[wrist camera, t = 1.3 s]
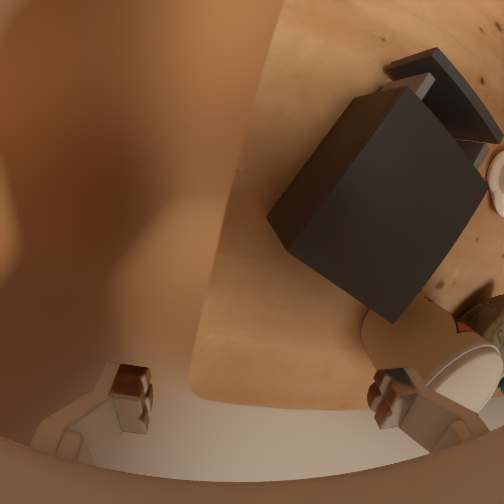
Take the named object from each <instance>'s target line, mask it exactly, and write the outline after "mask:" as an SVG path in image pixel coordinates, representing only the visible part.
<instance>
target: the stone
mask: <svg viewBox="0 0 504 504" xmlns="http://www.w3.org/2000/svg"><path fill="white" fill-rule="evenodd" d="M459 320H460V321H461V322H463V323H464V324H465V325H467V326H468V327H469V328H471V329H472V330H474V331H475V332H476V333H477V334H479V335H480V336H481V337H482V338H484V339H485V340H486V341H488V342H491V343H492V344H494V345H495V346H496V347H497V348H498V349H499V351H501V350H502V348H503V347H504V294H503V295H499V296H495V297H493V298H490V299H488V300H485V301H482V302H480V303H479V304H477V305H476V306H474V307H472V308H471V309H470V310H468V311H467V312H466V313H464V314H463V315H462V316H461V317H460V318H459Z"/></svg>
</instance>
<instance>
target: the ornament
mask: <svg viewBox="0 0 504 504" xmlns="http://www.w3.org/2000/svg"><path fill="white" fill-rule="evenodd" d="M501 391H502V393H503V394H504V377H503V378H502V381H501Z"/></svg>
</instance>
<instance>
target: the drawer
mask: <svg viewBox="0 0 504 504" xmlns="http://www.w3.org/2000/svg"><path fill="white" fill-rule="evenodd" d="M386 70H387V71H388V72H389V73H390V74H391V75H392V76H393V77H394V78H395V79H396V81H392V82H388V83H386V84H385V85H384V87H383V88H382V89H381V91H385V90H389V89H393V88H398V87H403V86H408V87H409V88H410V89H411V90H412V91H413V92H414V93H415V94H416V95H417V96H418V97H419V98H420V99H421V101H422V102H423V103H424V104H425V105H426V106H427V107H428V108H429V109H430V111H431V112H432V113H433V114H434V115H435V116H436V117H437V119H438V120H439V121H440V122H441V123H442V125H443V126H444V127H445V128H446V129H447V131H448V132H449V133H450V134H451V136H452V137H453V138H454V139H458V140H455V141H456V142H457V143H458V145H459V146H460V147H461V148H462V150H463V151H464V152H465V154H466V155H467V156H468V158H469V159H470V161H471V162H472V163H473V165H474V166H475V168H476V169H477V170H478V168H479V167H480V165H481V163H482V161H483V159H484V158H485V156H486V154H487V152H488V150H489V148H488V147H487V145H486V144H485V143H480V142H486V143H494V144H500V142H501V140H502V138H503V136H504V135H503V133H502V132H501V130H500V128H499V127H498V125H497V124H496V122H495V121H494V119H493V118H492V116H491V115H490V113H489V112H488V110H487V109H486V107H485V106H484V105H483V103H482V102H481V100H480V99H479V98H478V96H477V95H476V93H475V92H474V91H473V89H472V88H471V87H470V86H469V84H468V83H467V82H466V80H465V79H464V78H463V77H462V75H461V74H460V73H459V72H458V70H457V69H456V68H455V67H454V66H453V64H452V63H451V62H450V61H449V60H448V59H447V57H446V56H445V55H444V54H443V53H442V52H441V51H440V50H439V48H438V47H436V48H432V49H429V50H426V51H423V52H420V53H417V54H414V55H411V56H408V57H405V58H403V59H400V60H397V61H394V62H391V64H390V65H389V66H388V68H387V69H386ZM461 140H468V141H461ZM471 141H478V142H471Z"/></svg>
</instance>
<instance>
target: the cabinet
mask: <svg viewBox="0 0 504 504" xmlns="http://www.w3.org/2000/svg"><path fill="white" fill-rule="evenodd" d="M488 188H489V187H488V185H487V184H486V182H485V181H484V179H483V178H482V176H481V175H480V173H479V172H478V170H477V169H476V168H475V166H474V165H473V163H472V162H471V161H470V159H469V158H468V156H467V155H466V154H465V152H464V151H463V150H462V148H461V147H460V146H459V145H458V143H457V142H456V141H455V139H454V138H453V137H452V136H451V134H450V133H449V132H448V131H447V129H446V128H445V127H444V126H443V125H442V123H441V122H440V121H439V120H438V119H437V117H436V116H435V115H434V114H433V113H432V112H431V111H430V109H429V108H428V107H427V106H426V105H425V104H424V103H423V102H422V101H421V99H420V98H419V97H418V96H417V95H416V94H415V93H414V92H413V91H412V90H411V89H410V88H409V87H408V86H403V87H398V88H393V89H389V90H385V91H380V92H376V93H372V94H368V95H364V96H360V97H356V98H354V99H353V101H352V102H351V103H350V105H349V106H348V107H347V109H346V110H345V111H344V113H343V114H342V115H341V117H340V118H339V119H338V121H337V122H336V123H335V125H334V126H333V127H332V129H331V130H330V131H329V133H328V134H327V135H326V137H325V138H324V139H323V141H322V142H321V143H320V145H319V146H318V148H317V149H316V150H315V152H314V153H313V154H312V156H311V157H310V158H309V160H308V161H307V162H306V164H305V165H304V166H303V168H302V169H301V171H300V172H299V173H298V175H297V176H296V177H295V179H294V180H293V181H292V183H291V184H290V185H289V187H288V188H287V189H286V191H285V192H284V194H283V195H282V196H281V198H280V199H279V200H278V202H277V203H276V204H275V206H274V207H273V209H272V210H271V211H270V213H269V214H268V215H267V217H266V218H267V220H268V221H269V223H270V225H271V226H272V228H273V230H274V231H275V233H276V234H277V236H278V238H279V239H280V241H281V243H282V244H283V246H284V248H285V249H286V251H287V252H288V253H290V254H291V255H293V256H294V257H296V258H297V259H299V260H300V261H302V262H303V263H305V264H306V265H308V266H309V267H311V268H312V269H313V270H315V271H316V272H318V273H319V274H321V275H322V276H324V277H325V278H327V279H328V280H329V281H331V282H332V283H334V284H335V285H337V286H338V287H340V288H341V289H343V290H344V291H345V292H347V293H348V294H350V295H351V296H353V297H354V298H355V299H357V300H358V301H360V302H361V303H363V304H364V305H366V306H367V307H368V308H370V309H371V310H373V311H374V312H376V313H377V314H378V315H380V316H381V317H383V318H384V319H385V320H387V321H388V322H390V323H391V324H394V323H395V321H396V320H397V319H398V318H399V317H400V315H401V314H402V313H403V312H404V311H405V309H406V308H407V307H408V306H409V304H410V303H411V302H412V301H413V299H414V298H415V297H416V296H417V294H418V293H419V292H420V290H421V289H422V288H423V287H424V285H425V284H426V283H427V281H428V280H429V279H430V277H431V276H432V275H433V273H434V272H435V270H436V269H437V268H438V266H439V265H440V264H441V262H442V261H443V259H444V258H445V256H446V255H447V254H448V252H449V251H450V249H451V248H452V246H453V245H454V243H455V242H456V240H457V239H458V237H459V236H460V234H461V233H462V231H463V230H464V228H465V227H466V225H467V223H468V222H469V220H470V219H471V217H472V216H473V214H474V212H475V211H476V209H477V207H478V206H479V204H480V202H481V201H482V199H483V197H484V195H485V194H486V192H487V190H488Z"/></svg>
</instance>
